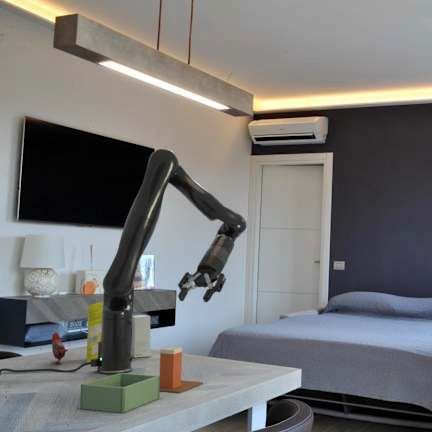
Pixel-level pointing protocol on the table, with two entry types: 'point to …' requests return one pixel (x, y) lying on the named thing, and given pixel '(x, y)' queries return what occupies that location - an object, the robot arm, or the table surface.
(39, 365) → the table surface
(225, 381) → the table surface
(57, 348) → the decorative bird figurine
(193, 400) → the table surface
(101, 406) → the bin
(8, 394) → the table surface
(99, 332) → the food package
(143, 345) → the cosmetic box
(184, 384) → the cork mat
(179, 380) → the tea packet
